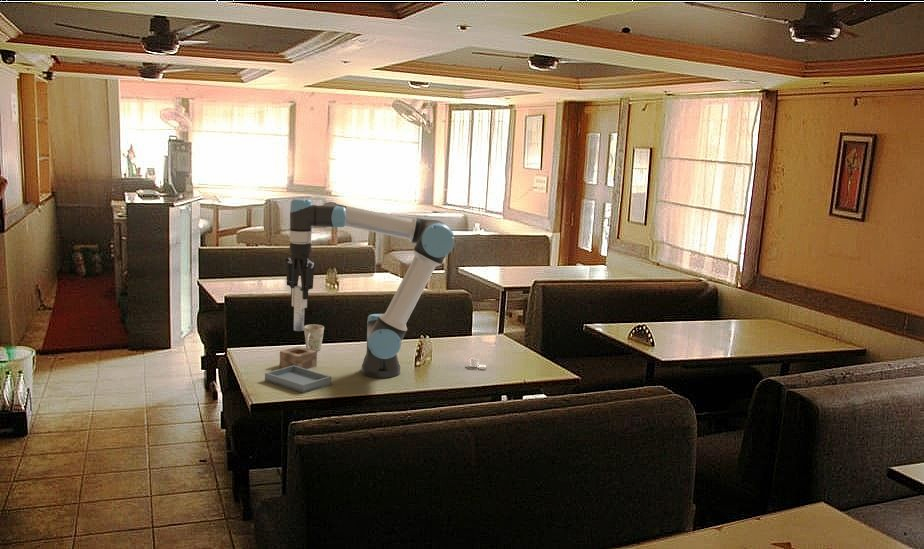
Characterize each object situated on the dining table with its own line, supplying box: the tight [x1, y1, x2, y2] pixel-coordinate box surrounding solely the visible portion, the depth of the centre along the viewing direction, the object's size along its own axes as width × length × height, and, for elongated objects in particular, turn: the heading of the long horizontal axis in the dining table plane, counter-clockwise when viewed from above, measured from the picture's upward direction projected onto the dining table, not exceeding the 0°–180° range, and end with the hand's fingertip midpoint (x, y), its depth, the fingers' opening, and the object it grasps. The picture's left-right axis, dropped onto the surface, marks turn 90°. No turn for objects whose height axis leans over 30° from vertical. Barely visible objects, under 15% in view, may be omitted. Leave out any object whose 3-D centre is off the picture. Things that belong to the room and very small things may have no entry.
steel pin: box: [293, 285, 305, 332], centre depth 274 cm, size 4×4×16 cm
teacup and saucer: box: [468, 357, 487, 370], centre depth 309 cm, size 9×8×4 cm
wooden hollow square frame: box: [279, 346, 318, 370], centre depth 298 cm, size 10×10×6 cm
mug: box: [303, 323, 325, 352], centre depth 320 cm, size 8×13×10 cm, turn 174°
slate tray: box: [264, 365, 333, 394], centre depth 278 cm, size 20×14×3 cm
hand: (299, 306), depth 274 cm, fingers closed on steel pin, 3 cm apart
